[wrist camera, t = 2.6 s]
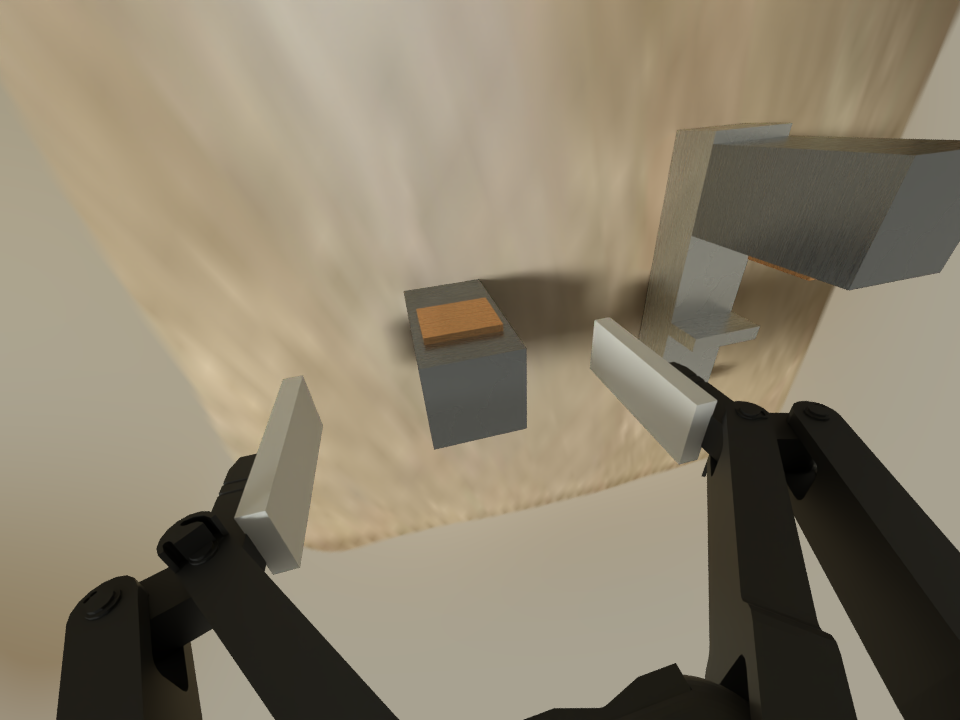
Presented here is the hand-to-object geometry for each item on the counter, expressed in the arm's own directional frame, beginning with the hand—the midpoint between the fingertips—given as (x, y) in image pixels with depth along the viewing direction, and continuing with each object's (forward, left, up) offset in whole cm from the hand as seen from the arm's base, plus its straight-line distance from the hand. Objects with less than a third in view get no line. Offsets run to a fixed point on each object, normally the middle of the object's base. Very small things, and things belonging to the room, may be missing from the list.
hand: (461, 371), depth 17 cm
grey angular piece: (0, +15, -5) cm, 15 cm away
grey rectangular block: (0, 0, -5) cm, 5 cm away
